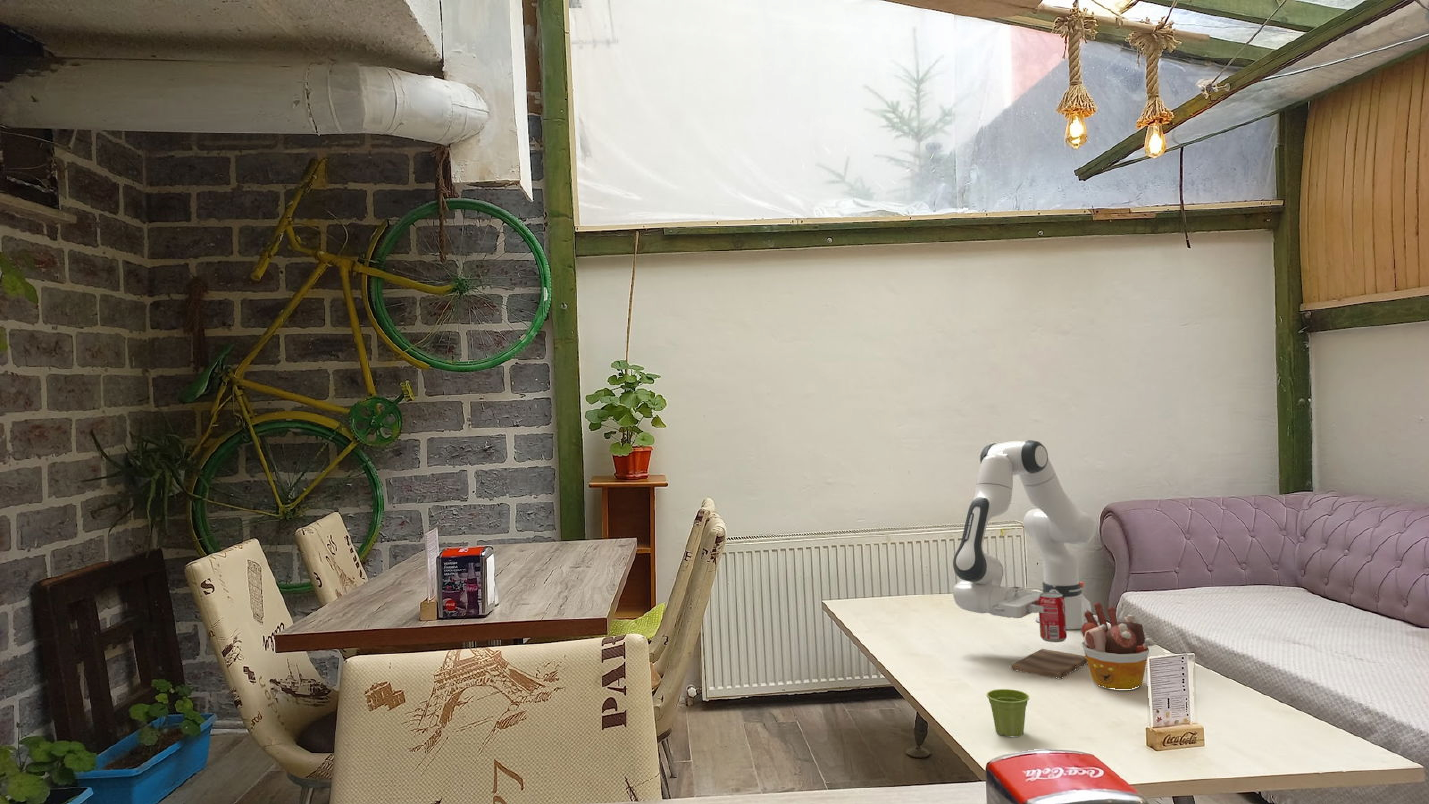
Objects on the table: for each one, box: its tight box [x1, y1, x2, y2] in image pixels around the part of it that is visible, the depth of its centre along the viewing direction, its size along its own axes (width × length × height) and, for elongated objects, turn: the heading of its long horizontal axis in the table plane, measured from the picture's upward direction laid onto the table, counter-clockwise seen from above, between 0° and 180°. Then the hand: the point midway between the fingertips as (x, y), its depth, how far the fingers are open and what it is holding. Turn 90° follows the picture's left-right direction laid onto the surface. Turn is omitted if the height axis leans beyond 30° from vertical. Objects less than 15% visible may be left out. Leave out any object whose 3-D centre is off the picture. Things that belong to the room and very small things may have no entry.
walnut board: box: [1011, 648, 1088, 679], centre depth 248 cm, size 20×14×2 cm
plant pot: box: [986, 688, 1030, 737], centre depth 200 cm, size 9×9×9 cm
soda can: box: [1038, 592, 1068, 643], centre depth 248 cm, size 7×7×13 cm
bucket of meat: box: [1081, 601, 1156, 689], centre depth 230 cm, size 20×16×20 cm
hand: (1051, 608), depth 247 cm, fingers closed on soda can, 3 cm apart
